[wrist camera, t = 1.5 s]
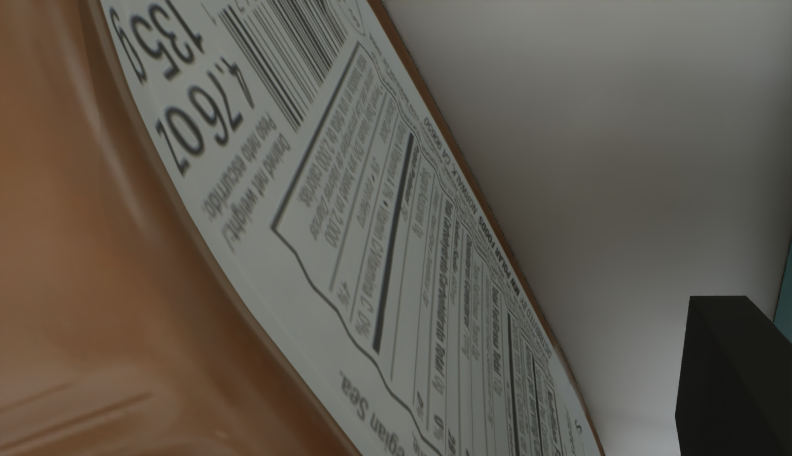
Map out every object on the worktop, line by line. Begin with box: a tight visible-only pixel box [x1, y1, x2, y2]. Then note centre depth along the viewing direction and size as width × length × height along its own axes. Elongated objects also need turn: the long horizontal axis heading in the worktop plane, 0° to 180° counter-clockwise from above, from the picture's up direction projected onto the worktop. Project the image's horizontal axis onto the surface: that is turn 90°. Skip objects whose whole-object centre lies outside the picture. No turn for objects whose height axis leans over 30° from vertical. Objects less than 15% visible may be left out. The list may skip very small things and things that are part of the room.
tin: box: [0, 0, 605, 456], centre depth 9 cm, size 15×3×8 cm, turn 28°
